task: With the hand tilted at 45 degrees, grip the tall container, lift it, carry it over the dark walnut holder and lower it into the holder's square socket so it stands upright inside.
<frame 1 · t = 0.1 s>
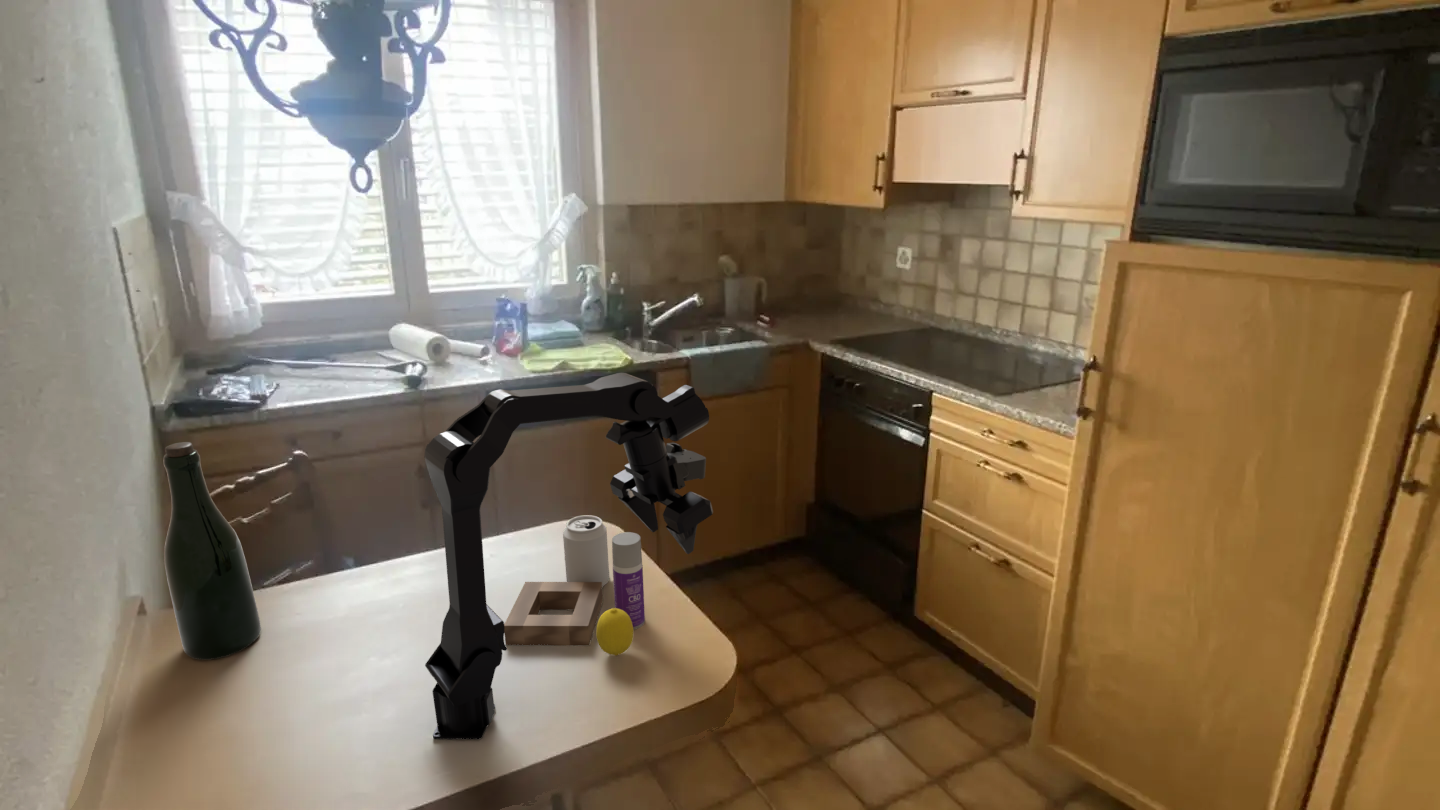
hand: (672, 541, 121), 15 cm above the table, tool pointing down, fingers open, 9 cm apart
beer bottle: (224, 643, 123), on the table
lemon: (616, 656, 119), on the table
holder: (556, 621, 128), on the table
container: (630, 623, 128), on the table
can: (588, 584, 139), on the table
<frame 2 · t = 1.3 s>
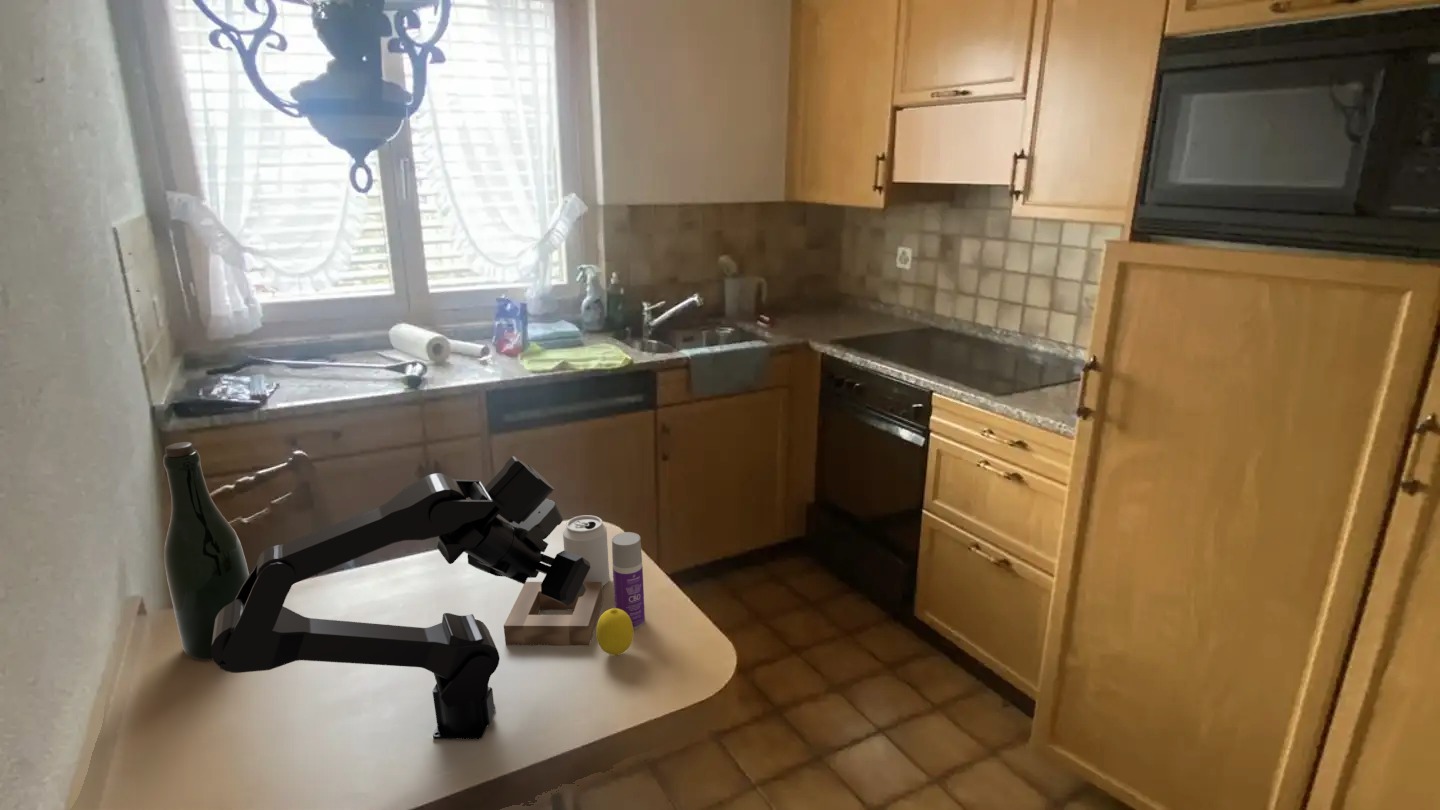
hand: (559, 583, 114), 13 cm above the table, tool tilted 45°, fingers open, 9 cm apart
nothing on the table moved.
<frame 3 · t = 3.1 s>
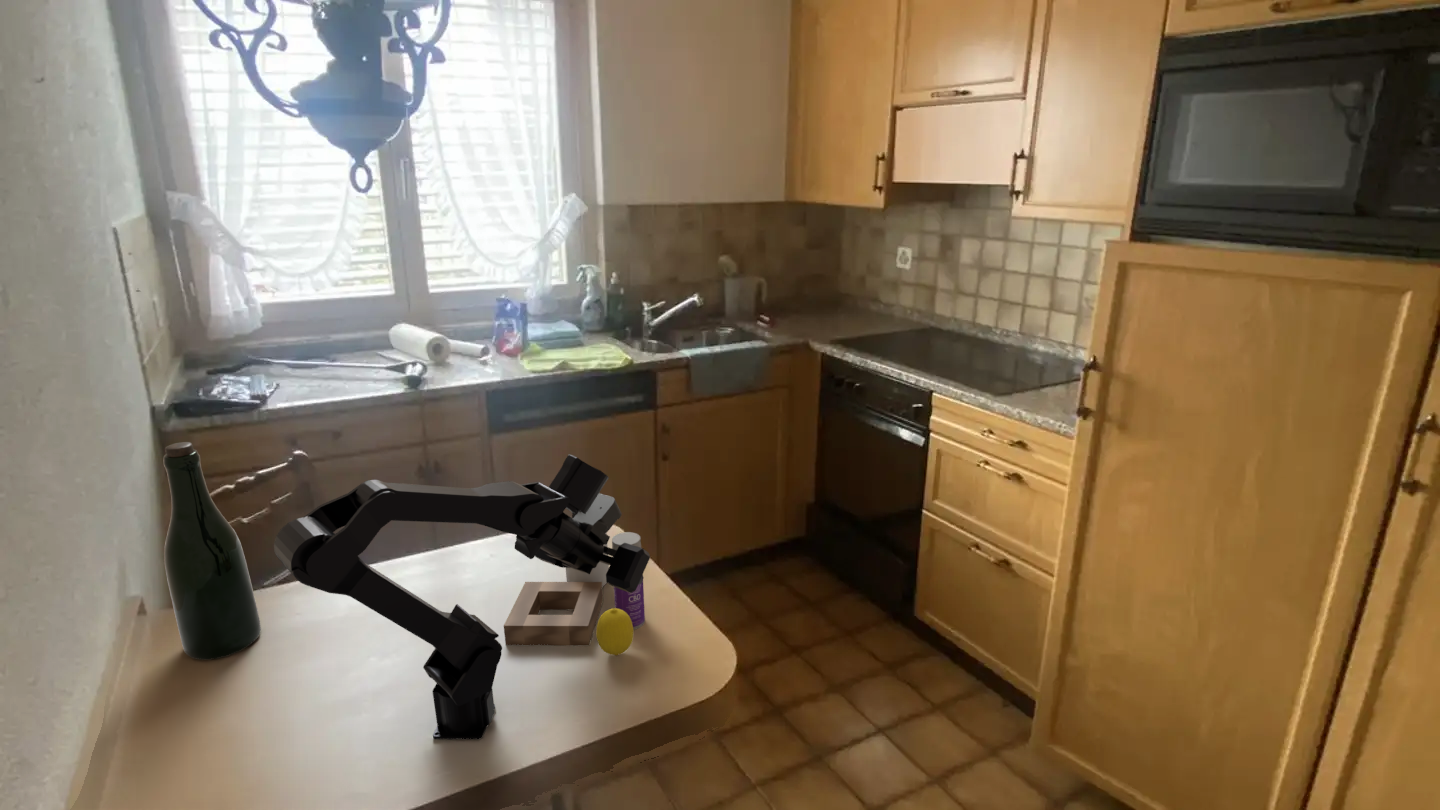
hand: (618, 572, 123), 10 cm above the table, tool tilted 45°, fingers open, 9 cm apart
nothing on the table moved.
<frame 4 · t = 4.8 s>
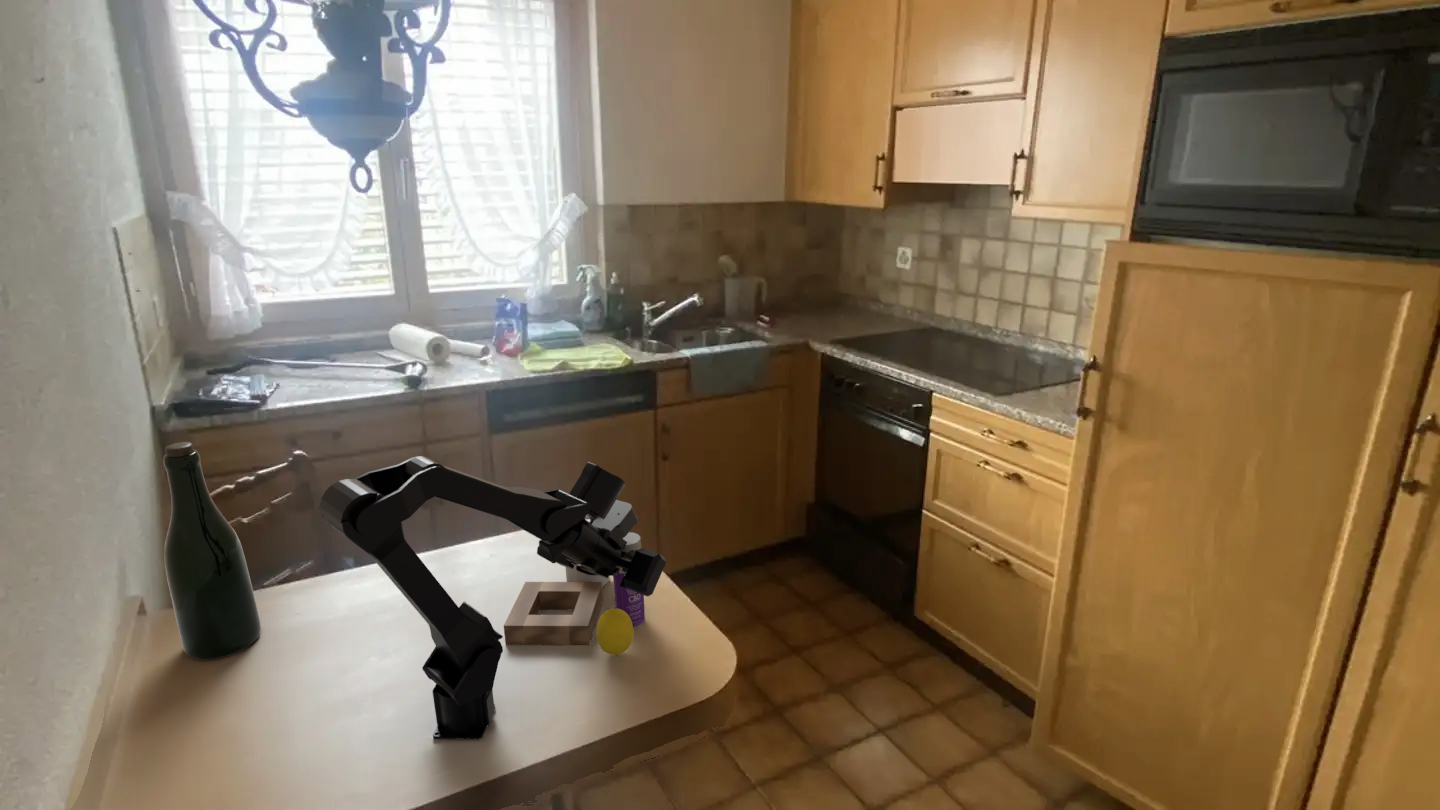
hand: (633, 576, 126), 8 cm above the table, tool tilted 45°, fingers closed on container, 5 cm apart
container: (630, 623, 128), on the table, touching gripper
everything else where it was.
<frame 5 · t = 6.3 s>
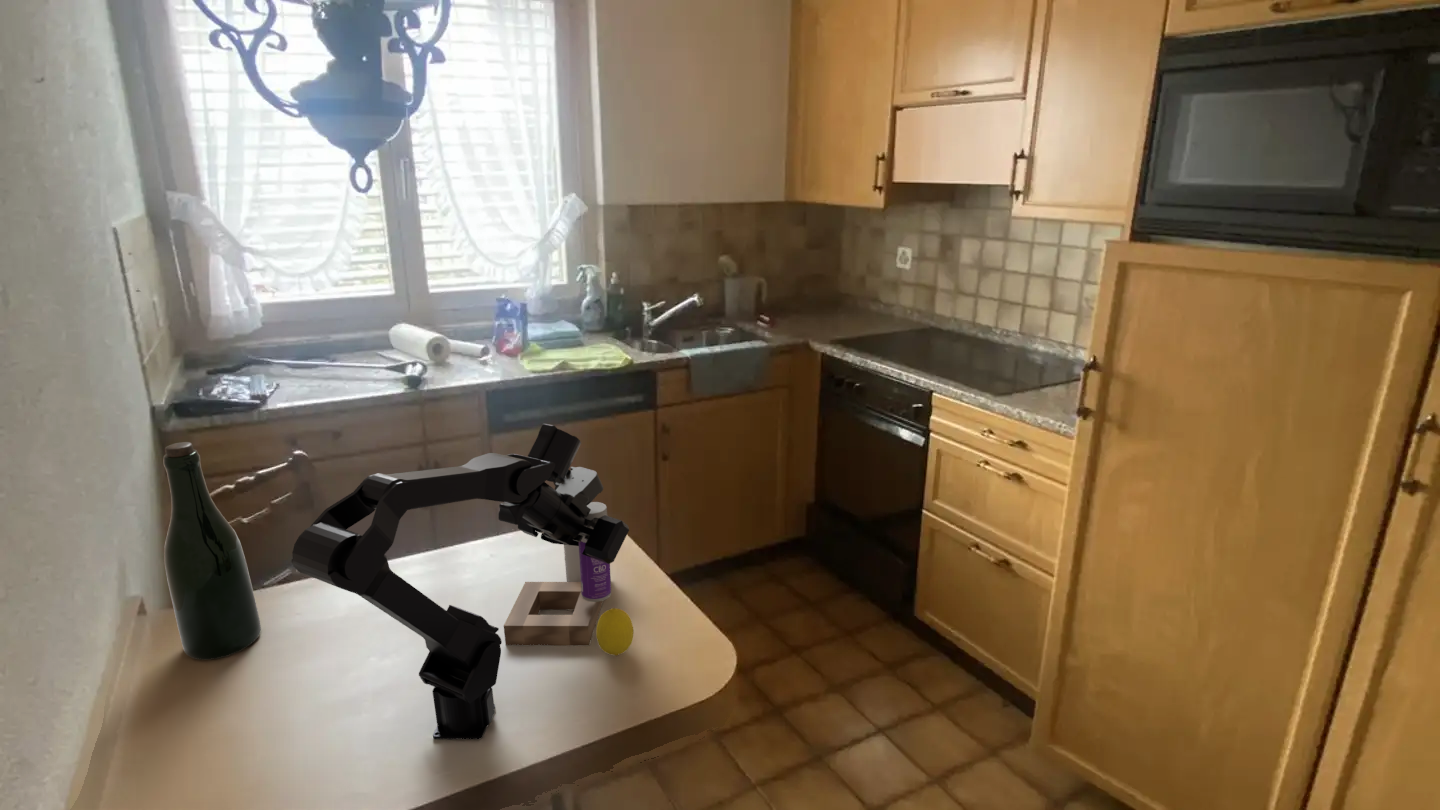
hand: (600, 547, 125), 13 cm above the table, tool tilted 45°, fingers closed on container, 5 cm apart
container: (596, 595, 126), point 5 cm above the table, touching gripper
everything else where it was.
when the fingers open (9 cm above the table, at t = 8.0 s): container drops 2 cm, resting in holder.
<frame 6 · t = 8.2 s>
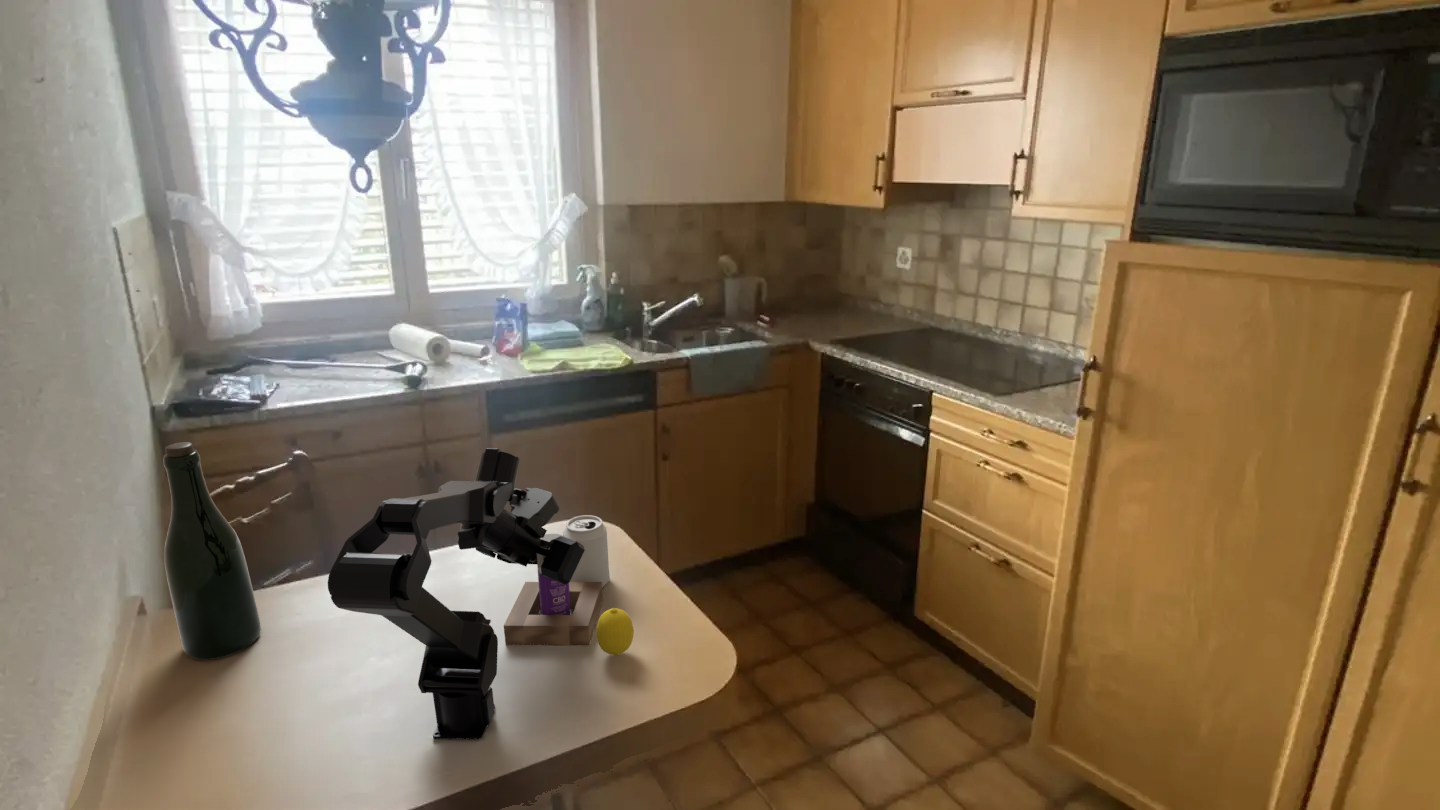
hand: (558, 566, 126), 9 cm above the table, tool tilted 45°, fingers open, 6 cm apart
container: (556, 623, 128), resting in holder, touching gripper
everything else where it was.
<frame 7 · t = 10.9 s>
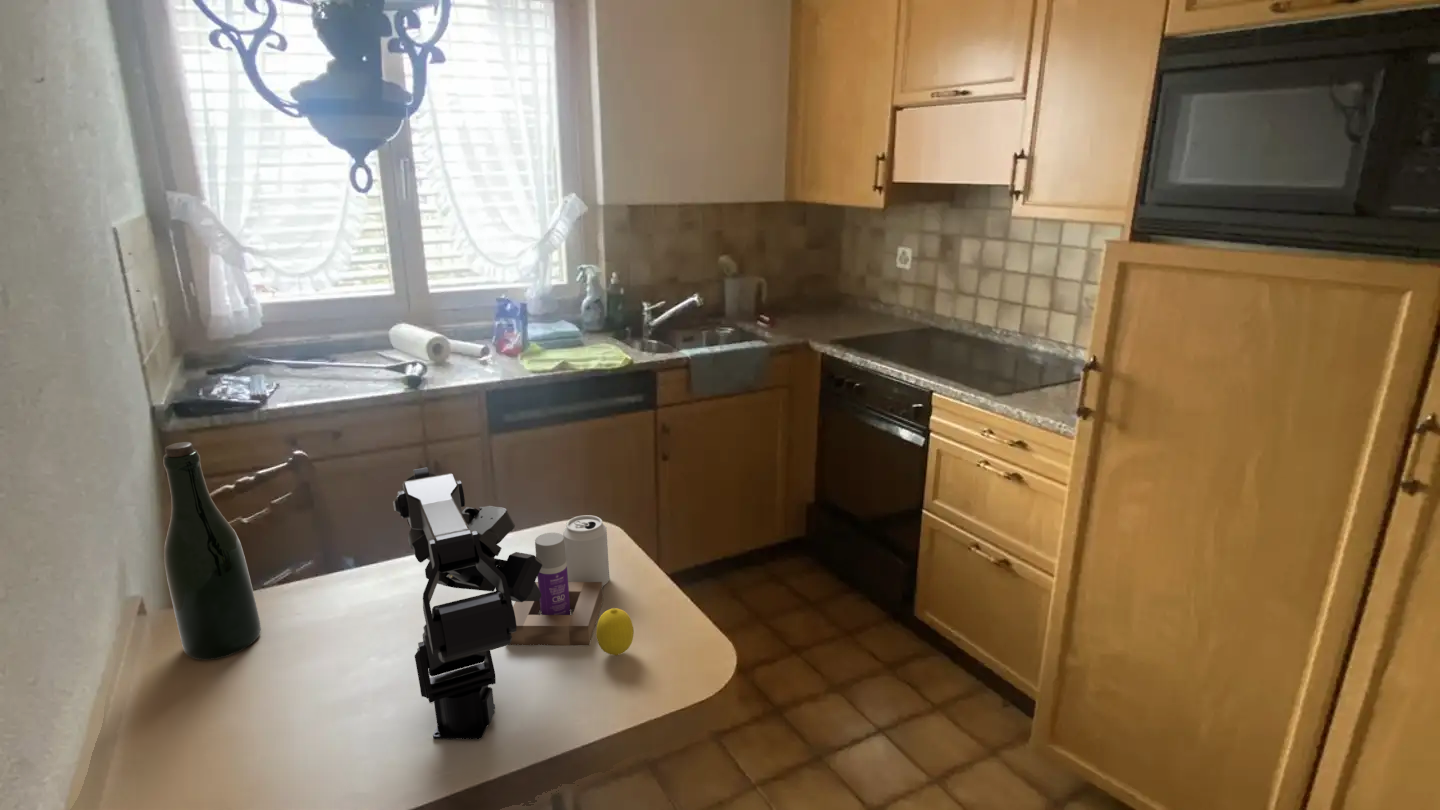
hand: (516, 592, 118), 10 cm above the table, tool tilted 40°, fingers open, 9 cm apart
container: (556, 623, 128), resting in holder
everything else where it was.
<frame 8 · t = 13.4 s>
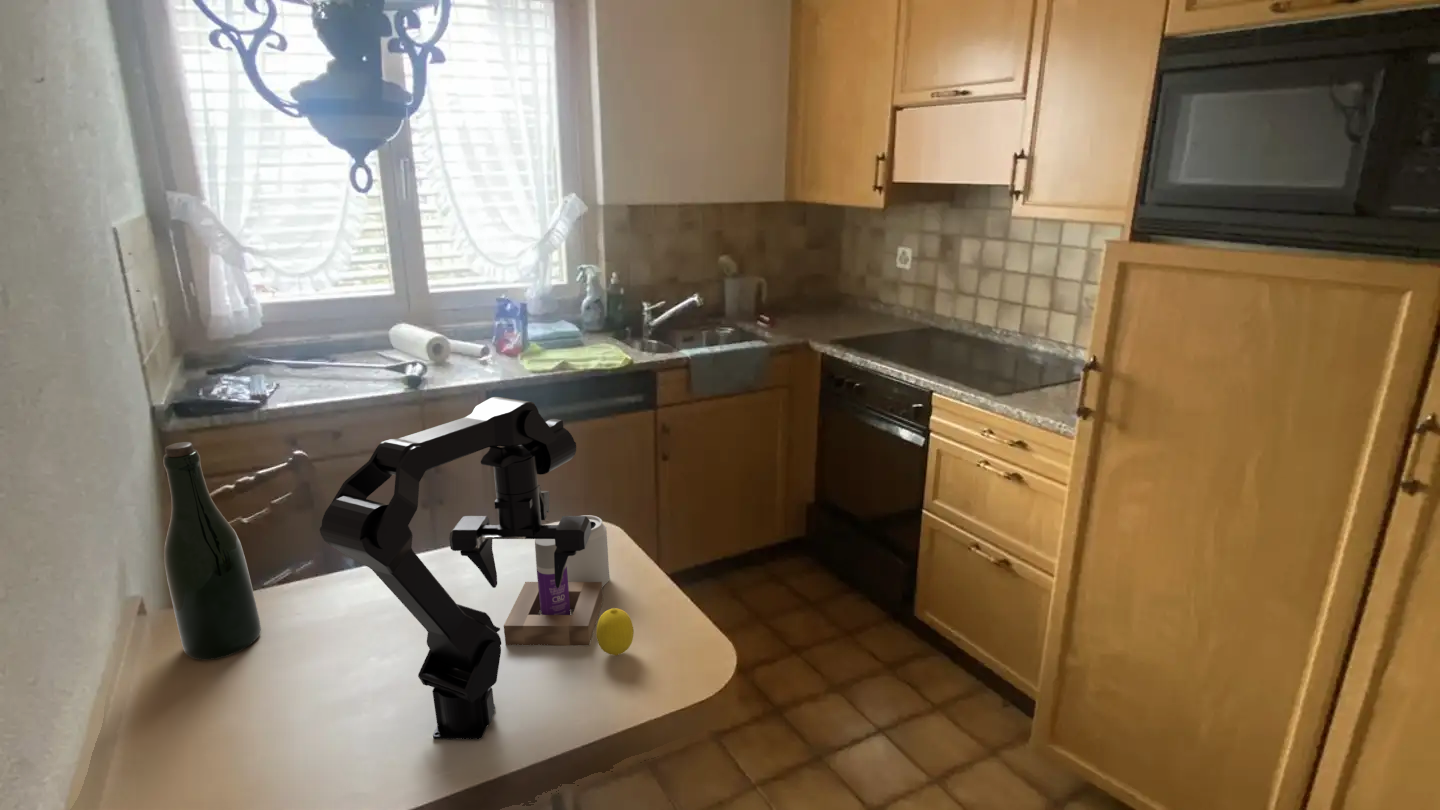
hand: (526, 586, 114), 13 cm above the table, tool pointing down, fingers open, 9 cm apart
nothing on the table moved.
at the end: container 0.2 cm off-centre on the holder, point 0.0 cm above the holder's base; container tilted 0°; the gripper is holding nothing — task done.
